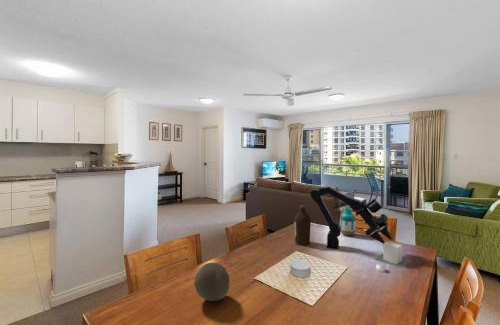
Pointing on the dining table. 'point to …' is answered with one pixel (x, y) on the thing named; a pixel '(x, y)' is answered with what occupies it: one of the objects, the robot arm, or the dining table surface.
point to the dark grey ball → (212, 282)
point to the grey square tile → (400, 264)
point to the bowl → (380, 268)
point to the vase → (347, 222)
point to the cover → (392, 252)
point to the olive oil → (302, 227)
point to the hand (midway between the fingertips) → (387, 241)
